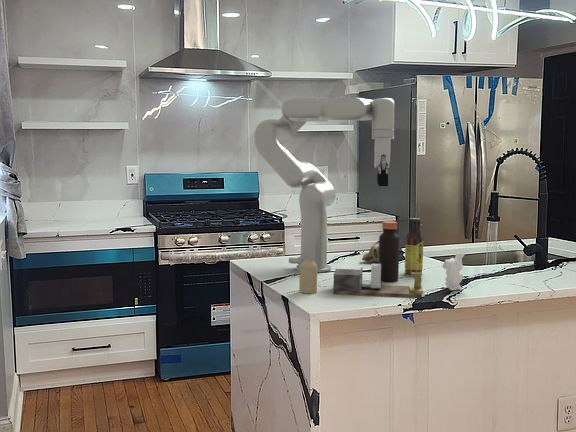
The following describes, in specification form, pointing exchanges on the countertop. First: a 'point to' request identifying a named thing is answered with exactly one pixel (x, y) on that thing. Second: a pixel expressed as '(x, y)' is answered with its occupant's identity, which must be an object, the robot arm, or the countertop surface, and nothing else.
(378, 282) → the grey block
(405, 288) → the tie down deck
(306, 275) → the candle
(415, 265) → the sauce bottle
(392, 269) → the vinegar
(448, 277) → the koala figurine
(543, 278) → the countertop surface
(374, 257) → the ceramic sculpture
